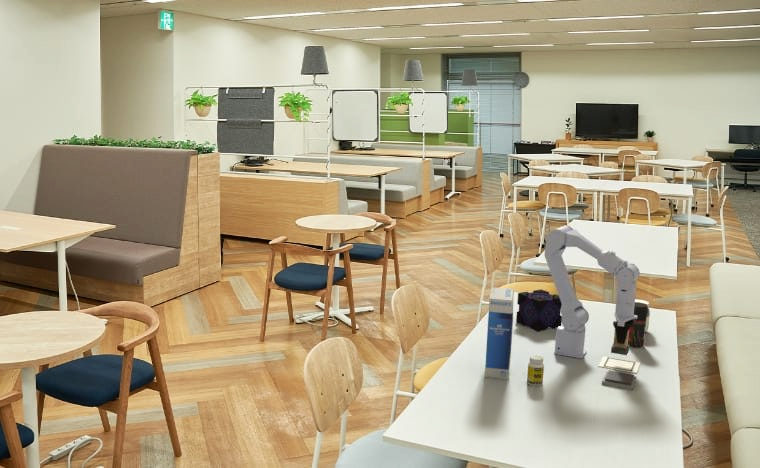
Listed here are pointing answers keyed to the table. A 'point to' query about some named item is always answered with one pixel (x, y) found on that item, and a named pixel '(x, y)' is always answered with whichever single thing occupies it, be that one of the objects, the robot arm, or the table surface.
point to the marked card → (619, 364)
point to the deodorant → (638, 326)
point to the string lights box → (499, 333)
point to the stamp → (620, 346)
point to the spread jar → (647, 313)
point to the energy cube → (539, 310)
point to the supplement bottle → (535, 371)
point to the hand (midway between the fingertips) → (621, 341)
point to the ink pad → (619, 380)
